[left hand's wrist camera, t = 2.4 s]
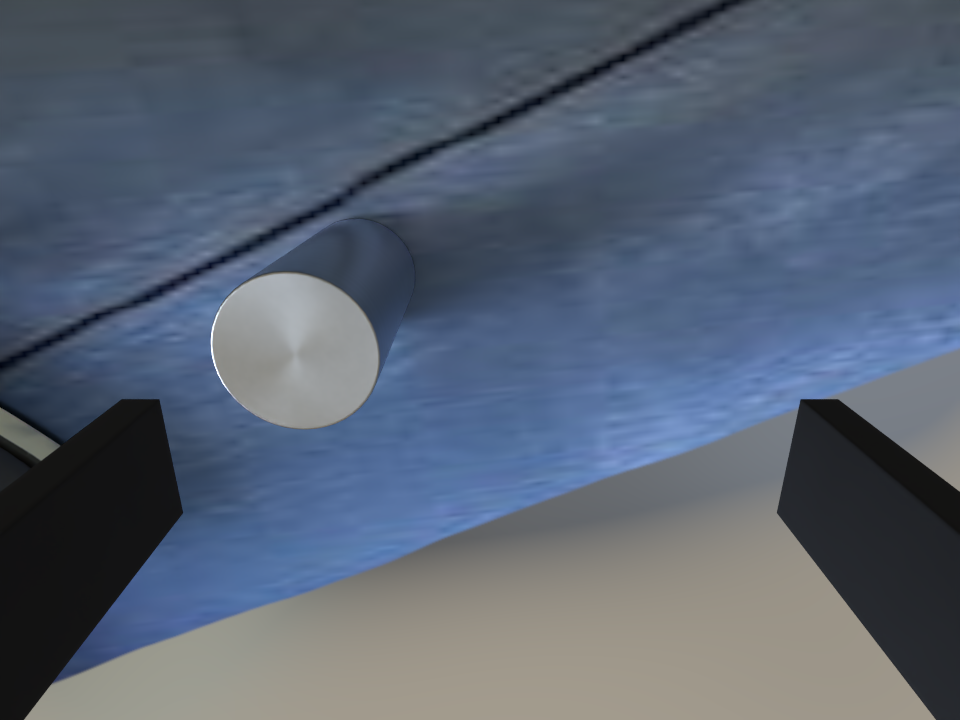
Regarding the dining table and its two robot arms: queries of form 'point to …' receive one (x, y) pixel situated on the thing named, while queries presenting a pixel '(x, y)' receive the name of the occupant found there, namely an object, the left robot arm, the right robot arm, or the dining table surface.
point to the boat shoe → (20, 448)
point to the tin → (315, 326)
